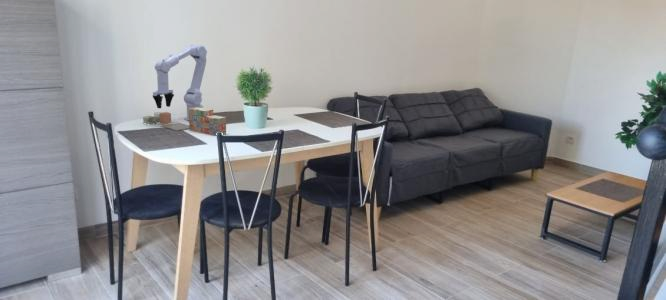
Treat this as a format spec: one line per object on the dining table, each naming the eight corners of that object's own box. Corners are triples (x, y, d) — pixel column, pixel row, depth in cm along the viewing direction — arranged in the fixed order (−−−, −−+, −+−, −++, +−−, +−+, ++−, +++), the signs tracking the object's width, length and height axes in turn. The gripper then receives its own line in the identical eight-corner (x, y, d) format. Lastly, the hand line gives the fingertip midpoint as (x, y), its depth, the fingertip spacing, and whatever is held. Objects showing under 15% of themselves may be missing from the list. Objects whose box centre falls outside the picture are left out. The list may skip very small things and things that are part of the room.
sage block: (151, 122, 278) (151, 115, 277) (156, 123, 275) (155, 116, 274) (143, 123, 274) (142, 116, 273) (148, 124, 271) (147, 118, 270)
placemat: (179, 123, 276) (179, 122, 276) (195, 128, 267) (195, 127, 267) (160, 126, 267) (160, 125, 267) (176, 131, 258) (176, 130, 258)
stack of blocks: (226, 134, 255) (226, 111, 252) (218, 136, 250) (217, 112, 247) (197, 128, 266) (196, 106, 262) (188, 130, 260) (188, 108, 257)
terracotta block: (167, 122, 280) (166, 112, 278) (171, 123, 277) (170, 113, 275) (159, 123, 276) (159, 112, 275) (164, 124, 273) (163, 114, 272)
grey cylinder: (160, 120, 284) (160, 112, 283) (165, 121, 281) (164, 113, 280) (152, 121, 280) (152, 112, 279) (157, 122, 277) (156, 114, 276)
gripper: (165, 81, 276) (166, 105, 279) (148, 83, 263) (149, 108, 266) (175, 82, 274) (176, 106, 277) (158, 84, 260) (159, 109, 263)
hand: (163, 107), depth 271 cm, fingers open, 7 cm apart
